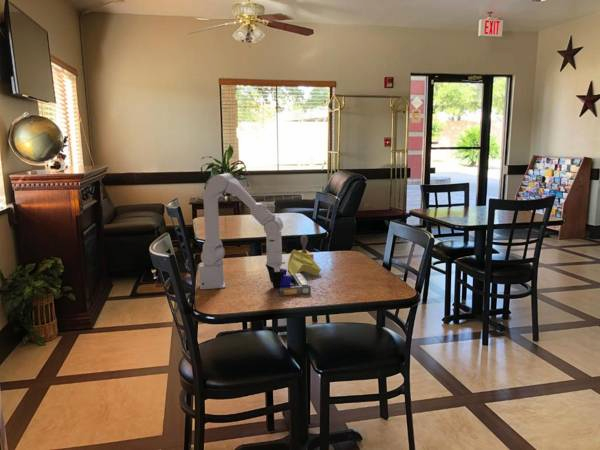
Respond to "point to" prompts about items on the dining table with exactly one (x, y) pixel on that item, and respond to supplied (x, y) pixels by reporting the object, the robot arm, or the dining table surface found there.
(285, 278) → the blue arched block
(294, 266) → the plastic component
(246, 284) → the dining table surface
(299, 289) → the rack
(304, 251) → the rubber stamp
